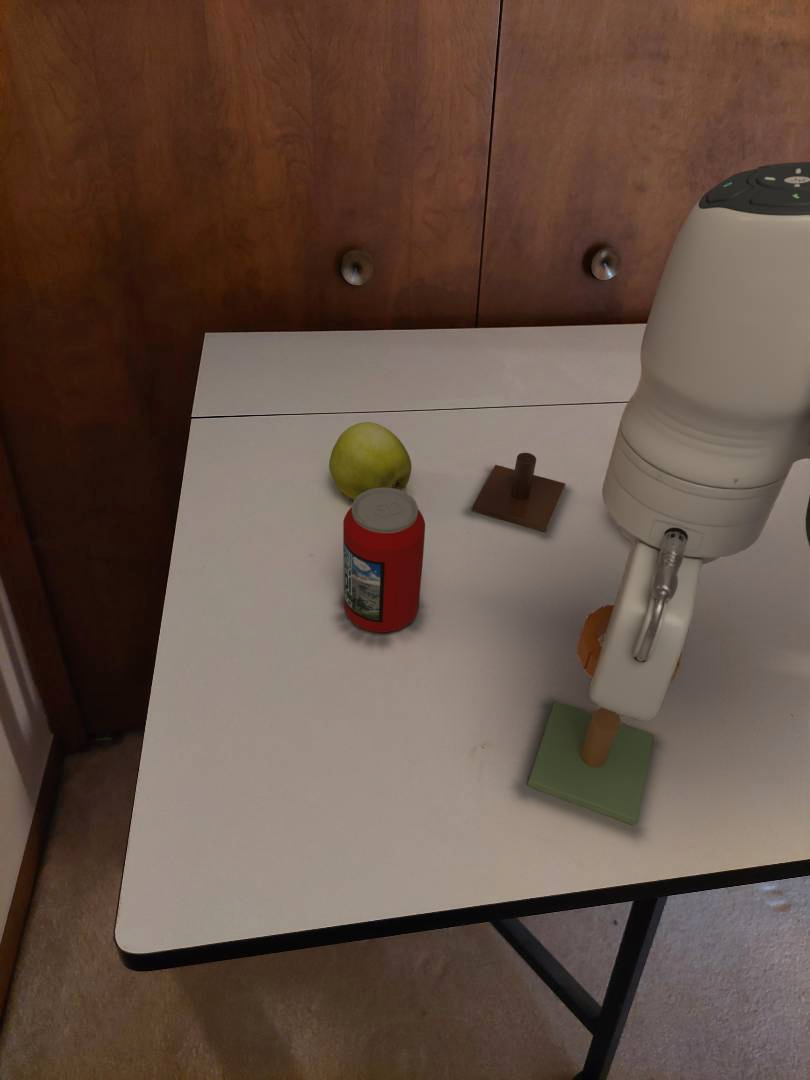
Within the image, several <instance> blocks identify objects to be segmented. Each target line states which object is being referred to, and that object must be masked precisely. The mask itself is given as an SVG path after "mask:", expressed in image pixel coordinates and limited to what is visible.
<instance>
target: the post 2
mask: <svg viewBox="0 0 810 1080" xmlns="http://www.w3.org/2000/svg"><path fill="white" fill-rule="evenodd" d="M654 736H655V734H654V733H652V732H649V731H646V730H643V729H640V728H637V727H634V726H631V725H629V724H626V723H622V722H621V719H620V716H619V714H617V713H615V712H612V711H610V710H607V709H605V708H603V707H600V708H597V709H596V710H595V711H593V712H590V711H587V710H585V709H581V708H578V707H575V706H572V705H570V704H567V703H564V702H560V701H558V700H554V702H553V705H552V707H551V711H550V713H549V716H548V720H547V723H546V726H545V730H544V732H543V735H542V737H541V742H540V743H539V744H540V745H539V747H538V751H537V754H536V757H535V760H534V763H533V766H532V769H531V772H530V775H529V778H528V781H527V787H529V788H532V789H535V790H537V791H540V792H543V793H546V794H548V795H551V796H554V797H556V798H559V799H562V800H564V801H567V802H569V803H573V804H574V805H578V806H580V807H584V808H586V809H588V810H591V811H593V812H597V813H600V814H602V815H605V816H607V817H610V818H613V819H616V820H619V821H621V822H624V823H626V824H629V825H632V826H635V825H636V823H637V821H638V816H639V812H640V807H641V802H642V797H643V791H644V786H645V782H646V776H647V771H648V766H649V762H650V756H651V752H652V748H653V747H652V746H653V741H654Z"/></svg>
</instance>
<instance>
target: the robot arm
mask: <svg viewBox="0 0 810 1080" xmlns="http://www.w3.org/2000/svg"><path fill="white" fill-rule="evenodd" d="M639 354H640V355H639V356H640V357H639V358H640V377H639V382H638V384H637V386H636V389H635V390H634V393H633V394H632V395H631V396H630V398H629V399H628V401H627V403H626V404H625V406H624V409H623V411H622V414H621V416H620V421H619V425H618V428H617V432H616V436H615V440H614V444H613V447H612V450H611V454H610V458H609V461H608V465H607V468H606V473H605V476H604V480H603V484H602V488H601V489H602V490H601V495H602V501H603V504H604V506H605V508H606V510H607V512H608V513H609V515H610V517H611V518H612V519H613V520H614V522H615V523H616V524H618V527H619V530H620V532H621V534H622V535H623V536H624V538H625V539H626V540H627V541H628V542H629V543H630V544H631V545H630V548H629V552H628V554H627V559H626V561H625V565H624V569H623V573H622V576H621V579H620V583H619V585H618V586H619V587H618V590H617V593H616V597H615V600H614V604H613V605H614V607H613V610H612V614H611V617H610V621H609V624H608V627H607V631H606V634H605V635H604V637H603V638H604V639H603V641H602V645H601V647H602V648H601V652H600V655H599V659H598V662H597V665H596V669H595V672H594V676H593V678H591V683H590V688H589V697H590V700H591V701H592V702H593V704H595V705H596V706H599V707H600V708H605V709H607V710H610V711H612V712H615V713H616V714H617V715H621V716H624V717H627V718H630V719H635V720H638V721H639V720H640V721H650V720H653V719H654V717H656V716H657V715H658V712H659V710H660V708H661V706H662V704H663V701H664V699H665V697H666V694H667V691H668V689H669V686H670V684H671V683H670V681H671V679H672V676H673V673H674V671H675V668H676V665H677V663H678V660H679V657H680V655H681V652H682V653H683V650H684V646H685V643H686V640H687V637H688V633H689V630H690V627H691V624H692V619H693V615H694V610H695V605H696V600H697V593H698V587H699V583H700V576H701V573H702V566H703V565H704V564H709V563H713V562H715V561H716V560H719V559H720V558H724V557H729V556H732V555H737V554H739V553H741V552H744V551H745V550H747V549H748V548H750V547H751V546H753V545H754V544H755V543H756V542H757V541H758V539H759V538H760V537H761V534H762V532H763V530H764V528H765V526H766V524H767V521H768V519H769V517H770V515H771V513H772V511H773V508H774V507H775V504H776V502H777V500H778V498H779V495H780V494H781V491H782V489H783V486H785V483H786V481H787V478H788V476H789V473H790V471H791V469H792V467H793V465H794V463H797V462H798V461H801V460H807V459H808V460H809V459H810V161H795V162H793V161H792V162H782V163H781V162H780V163H774V164H767V165H762V166H758V167H756V168H753V169H748V170H745V171H740V172H737V173H735V174H732V175H730V176H728V177H727V178H725V179H723V180H722V181H721V182H719V183H718V184H716V185H715V186H714V187H712V188H711V189H709V190H708V191H707V192H706V193H705V194H703V196H701V197H700V199H699V200H698V201H697V202H696V204H695V205H694V206H693V207H692V208H691V210H690V212H689V213H688V215H687V217H686V219H685V220H684V222H683V224H682V226H681V228H680V230H679V231H678V234H677V236H676V238H675V240H674V243H673V245H672V247H671V250H670V253H669V255H668V257H667V260H666V263H665V265H664V268H663V271H662V273H661V277H660V280H659V283H658V286H657V288H656V292H655V294H654V298H653V301H652V305H651V308H650V312H649V314H648V317H647V322H646V326H645V328H644V332H643V335H642V340H641V345H640V353H639ZM805 535H806V540H807V542H808V546H809V547H810V495H809V497H808V502H807V506H806V512H805ZM682 649H683V650H682Z"/></svg>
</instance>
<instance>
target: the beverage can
mask: <svg viewBox="0 0 810 1080" xmlns="http://www.w3.org/2000/svg"><path fill="white" fill-rule="evenodd" d="M342 523H343V525H342V526H343V529H342V534H343V536H342V538H343V539H342V541H343V542H342V545H343V546H342V554H343V555H342V560H343V561H342V562H343V564H342V566H343V567H342V568H343V606H344V610H345V613H346V616H347V617H348V618H349V620H350V621H351V622H352V623H353V624H355V625H356V626H358V627H360V628H362V629H363V630H366V631H370V632H375V633H388V632H393V631H394V632H395V631H397V630H400V629H403V628H405V627H406V626H407V625H410V623H412V621H413V620H414V619H415V618H416V617H417V614H418V611H419V607H420V597H421V596H420V595H421V585H422V577H423V575H422V574H423V561H424V552H425V551H424V550H425V549H424V548H425V536H426V535H425V534H426V522H425V518H424V516H423V514H422V512H421V511H420V509H419V506H418V503H417V501H416V500H415V499H414V497H413V496H412V495H410V494H409V493H408V492H405V491H403V490H398V489H394V488H383V487H382V488H374V489H370V490H367V491H365V492H363V493H361V494H360V495H358V496H357V497H356V498H355V500H353V502H352V505H351V507H350V508H349V509H348V510H347V512H346V513H345V516H344V517H343V522H342Z"/></svg>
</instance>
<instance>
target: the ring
mask: <svg viewBox="0 0 810 1080" xmlns="http://www.w3.org/2000/svg"><path fill="white" fill-rule="evenodd" d="M613 607H614V604H607V605H602V606H601V607H599V608H597V609H595V610H594V611H593V612H591V613H589V614H587V617H586V618H585V620H584V622H583V623H584V624H583V626H582V629H581V632H580V636H579V639H578V643H577V646H576V654H577V657H578V659H579V662H580V665H581V666H582V670H584V671H585V673H586V674H587V675H588V676H589V677H591V679H593V676H594V672H595V669H596V665H597V662H598V659H599V655H600V652H601V648H602V645H601V642H600V638H601V637H603V636H605V634H606V631H607V627H608V624H609V621H610V617H611V614H612V610H613ZM683 650H684V648H683V649H682V652H681V655H680V657H679V660H678V663H677V665H676V668H675V671H674V673H673V676H672V679H671V681H670V684H672V682H673V681H674V679H675V677H676V674H677V672H678V670H679V667H680V665H681V660H682V655H683Z"/></svg>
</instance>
